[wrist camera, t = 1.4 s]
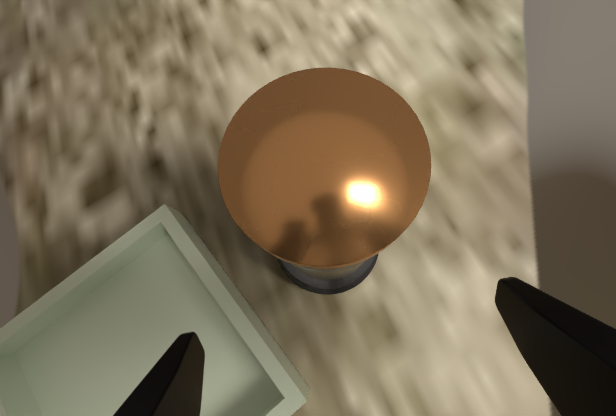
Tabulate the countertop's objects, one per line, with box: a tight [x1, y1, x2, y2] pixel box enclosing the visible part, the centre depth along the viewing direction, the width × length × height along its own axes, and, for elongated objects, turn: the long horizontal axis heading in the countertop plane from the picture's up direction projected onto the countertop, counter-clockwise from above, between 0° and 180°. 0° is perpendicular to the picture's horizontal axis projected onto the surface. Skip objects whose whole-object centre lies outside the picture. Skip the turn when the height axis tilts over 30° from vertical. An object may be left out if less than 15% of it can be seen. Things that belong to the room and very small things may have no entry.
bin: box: [0, 204, 310, 416], centre depth 19 cm, size 14×14×2 cm
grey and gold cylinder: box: [218, 68, 431, 289], centre depth 14 cm, size 6×6×12 cm
